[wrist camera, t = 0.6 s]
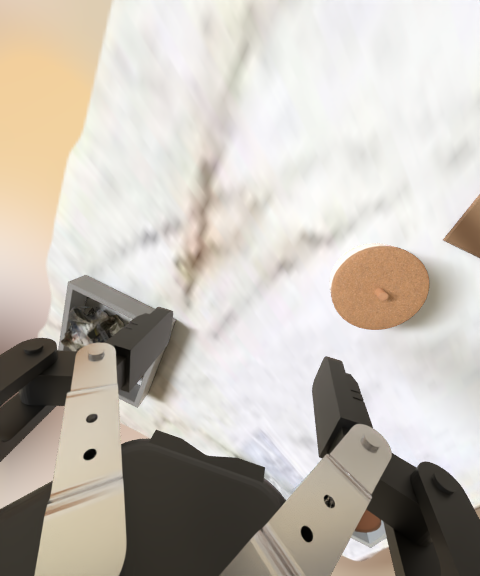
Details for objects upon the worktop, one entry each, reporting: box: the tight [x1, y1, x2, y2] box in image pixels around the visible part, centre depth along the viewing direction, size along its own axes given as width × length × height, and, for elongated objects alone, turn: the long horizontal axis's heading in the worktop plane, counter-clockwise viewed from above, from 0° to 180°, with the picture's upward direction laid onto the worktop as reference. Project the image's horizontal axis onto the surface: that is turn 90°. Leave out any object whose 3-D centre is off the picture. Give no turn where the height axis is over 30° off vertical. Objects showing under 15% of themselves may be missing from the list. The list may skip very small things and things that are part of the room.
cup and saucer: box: [355, 509, 381, 533], centre depth 50 cm, size 12×12×6 cm
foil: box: [61, 306, 124, 351], centre depth 47 cm, size 12×11×15 cm
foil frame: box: [58, 275, 176, 408], centre depth 48 cm, size 21×19×4 cm
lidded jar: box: [330, 243, 429, 330], centre depth 32 cm, size 11×11×9 cm
